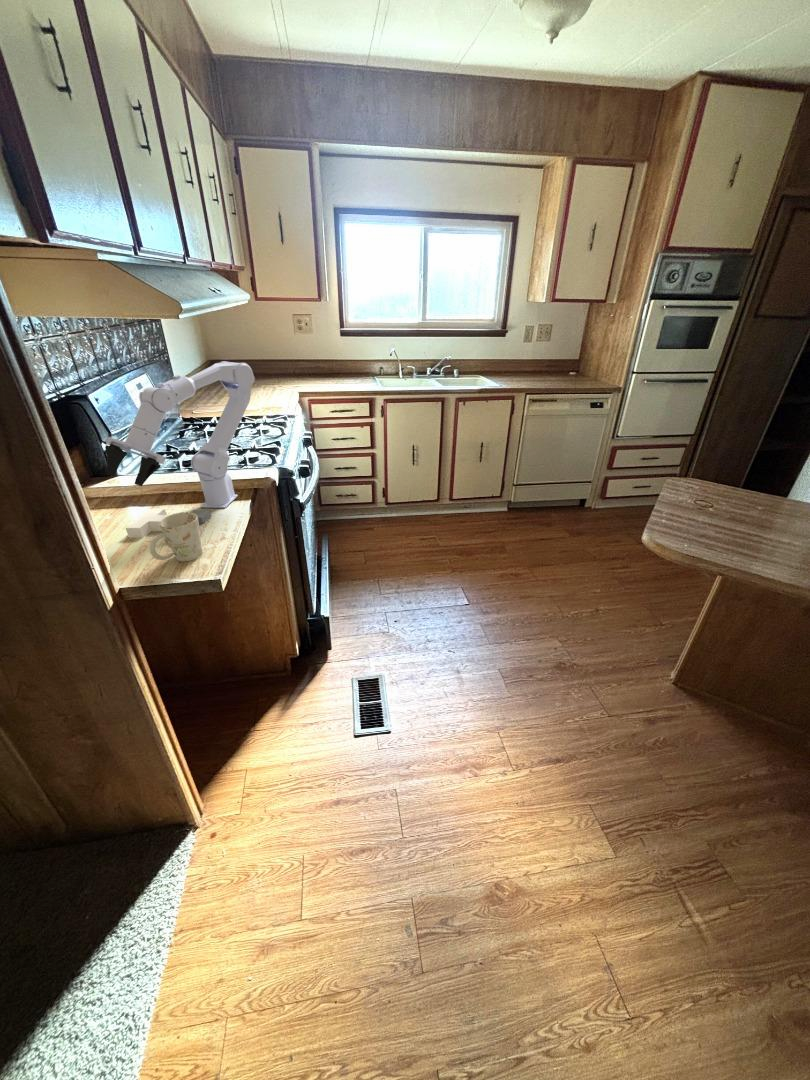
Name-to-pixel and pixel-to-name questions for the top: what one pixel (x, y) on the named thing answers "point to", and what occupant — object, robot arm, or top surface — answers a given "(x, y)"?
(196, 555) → the mug
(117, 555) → the top surface
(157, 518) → the t block
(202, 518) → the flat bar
